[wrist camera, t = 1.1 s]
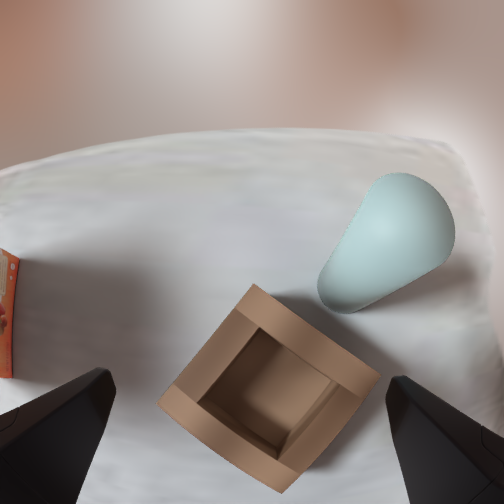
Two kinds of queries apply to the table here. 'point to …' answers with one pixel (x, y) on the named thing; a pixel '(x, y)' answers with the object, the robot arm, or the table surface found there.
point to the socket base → (268, 391)
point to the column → (387, 243)
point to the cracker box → (6, 309)
